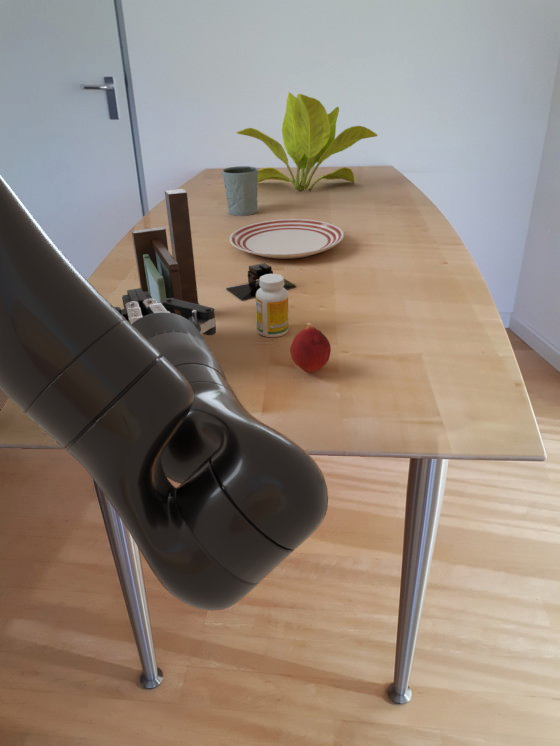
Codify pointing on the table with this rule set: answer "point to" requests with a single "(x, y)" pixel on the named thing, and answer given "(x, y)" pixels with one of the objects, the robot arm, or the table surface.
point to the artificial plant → (308, 141)
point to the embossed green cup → (241, 189)
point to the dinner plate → (287, 238)
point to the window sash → (154, 280)
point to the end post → (182, 242)
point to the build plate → (254, 282)
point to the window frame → (157, 260)
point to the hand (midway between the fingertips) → (134, 297)
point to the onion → (310, 349)
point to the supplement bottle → (272, 306)
